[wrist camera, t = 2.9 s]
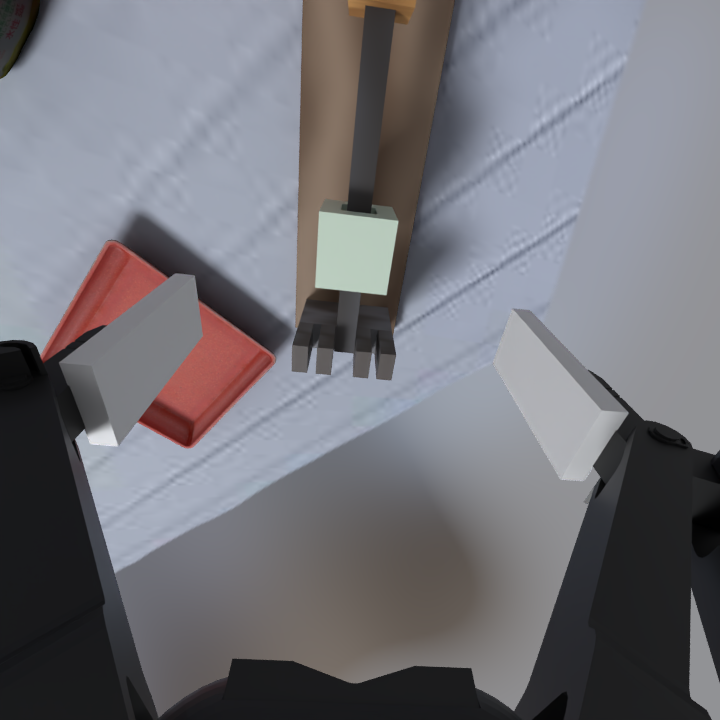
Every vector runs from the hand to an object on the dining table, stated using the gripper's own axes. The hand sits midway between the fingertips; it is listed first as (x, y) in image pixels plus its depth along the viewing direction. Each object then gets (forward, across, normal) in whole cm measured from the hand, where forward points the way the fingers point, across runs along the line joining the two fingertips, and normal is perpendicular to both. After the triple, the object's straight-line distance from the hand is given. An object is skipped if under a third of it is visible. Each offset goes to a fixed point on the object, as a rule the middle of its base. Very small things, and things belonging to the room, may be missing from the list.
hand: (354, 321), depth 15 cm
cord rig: (+21, 0, +4) cm, 21 cm away
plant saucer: (+21, -19, -16) cm, 33 cm away
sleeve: (+15, 0, 0) cm, 15 cm away
